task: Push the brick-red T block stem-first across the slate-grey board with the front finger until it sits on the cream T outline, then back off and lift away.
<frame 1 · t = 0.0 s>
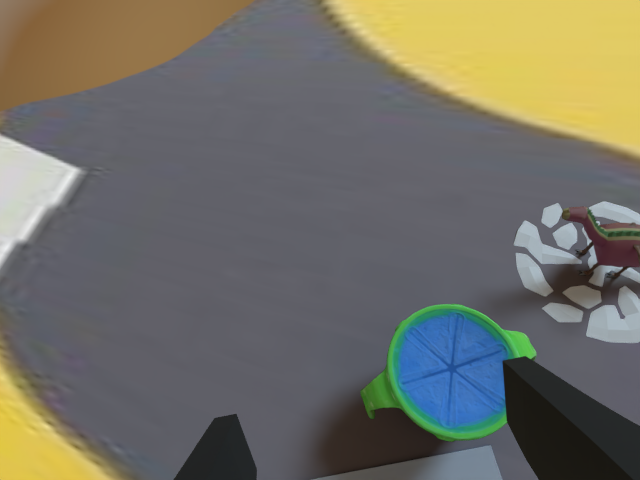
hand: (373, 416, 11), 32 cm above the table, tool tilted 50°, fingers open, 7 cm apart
snack cup: (438, 385, 41), on the table
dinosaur: (598, 266, 45), on the table
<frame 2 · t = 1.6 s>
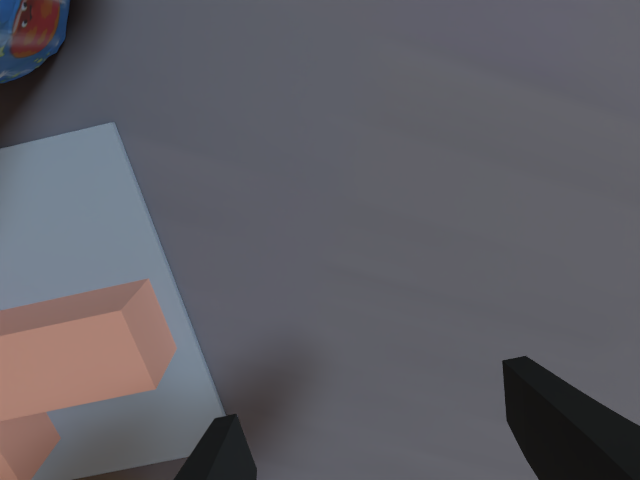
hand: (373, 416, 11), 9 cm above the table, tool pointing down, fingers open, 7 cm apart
t block: (27, 343, 20), resting on t board
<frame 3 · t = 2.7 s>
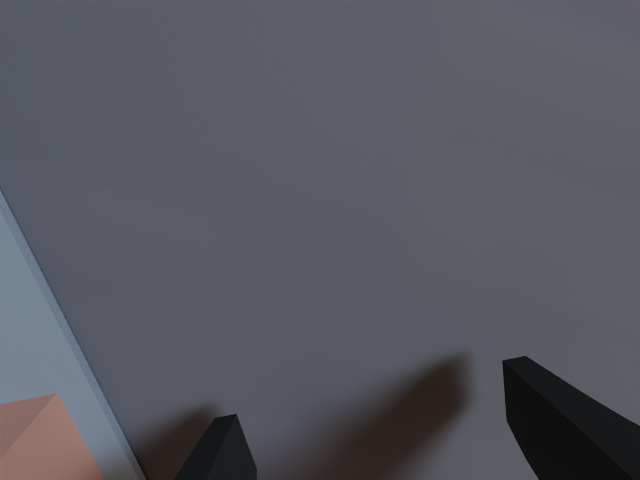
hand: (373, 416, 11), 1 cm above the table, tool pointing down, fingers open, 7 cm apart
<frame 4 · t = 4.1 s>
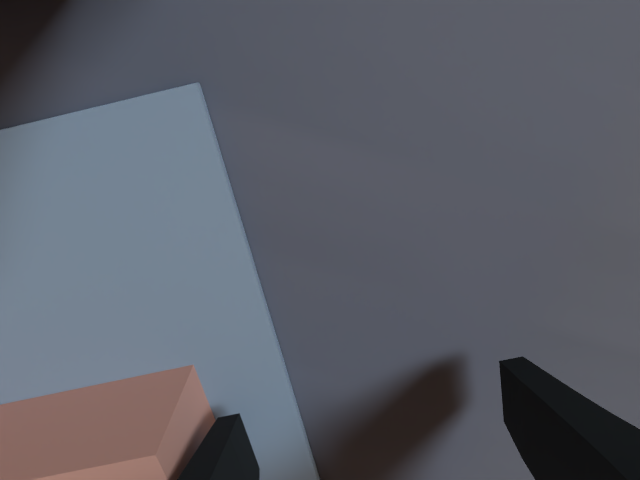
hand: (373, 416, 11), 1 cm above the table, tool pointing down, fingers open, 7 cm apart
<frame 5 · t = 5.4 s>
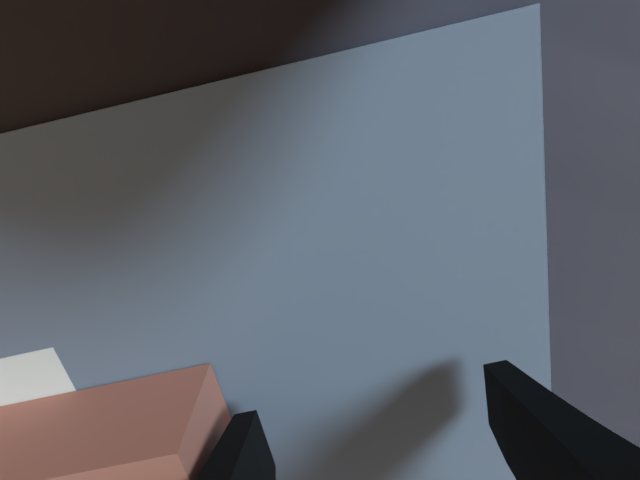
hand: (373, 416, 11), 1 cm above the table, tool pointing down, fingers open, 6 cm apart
t block: (9, 462, 12), resting on t board, touching gripper
t board: (62, 444, 12), on the table
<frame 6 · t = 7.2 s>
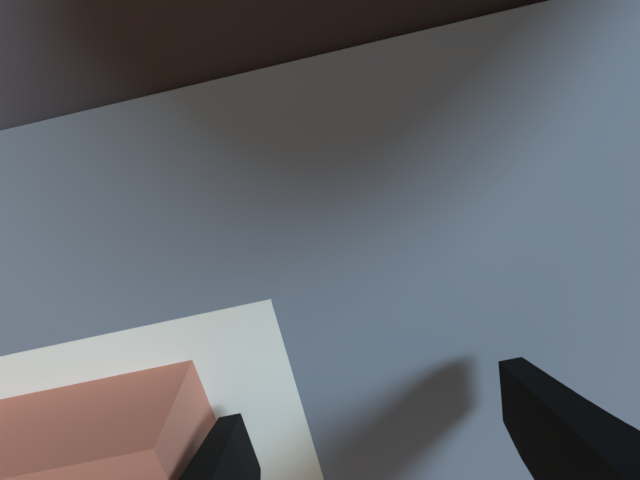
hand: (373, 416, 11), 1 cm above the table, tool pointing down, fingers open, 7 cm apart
t board: (253, 404, 12), on the table
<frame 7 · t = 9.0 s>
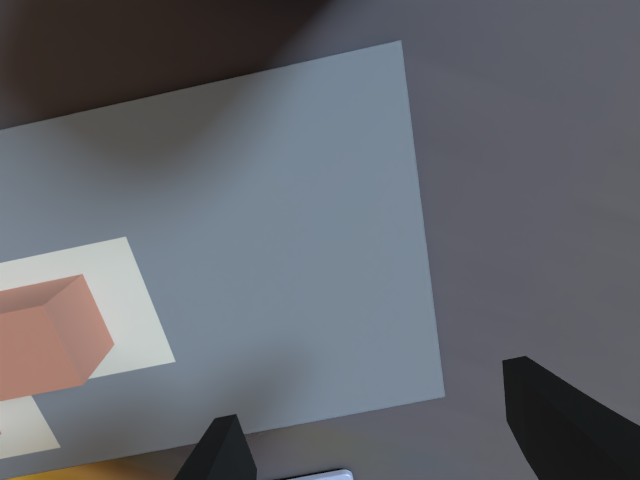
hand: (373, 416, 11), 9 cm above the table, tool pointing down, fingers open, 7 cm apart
t board: (125, 305, 20), on the table
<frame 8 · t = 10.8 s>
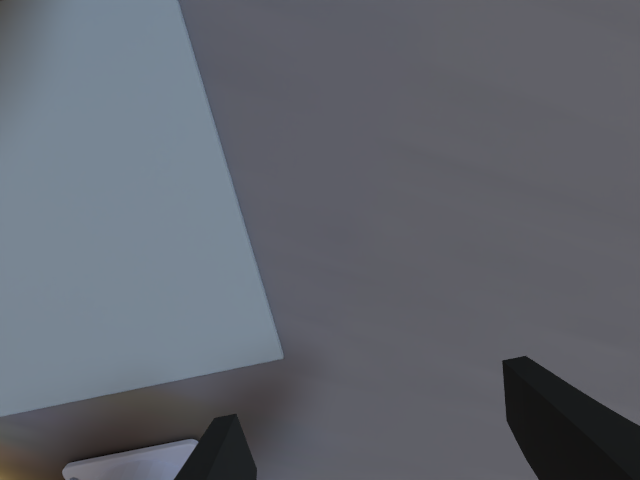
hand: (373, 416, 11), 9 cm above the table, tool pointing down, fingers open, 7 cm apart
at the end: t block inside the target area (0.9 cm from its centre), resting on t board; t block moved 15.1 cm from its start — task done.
